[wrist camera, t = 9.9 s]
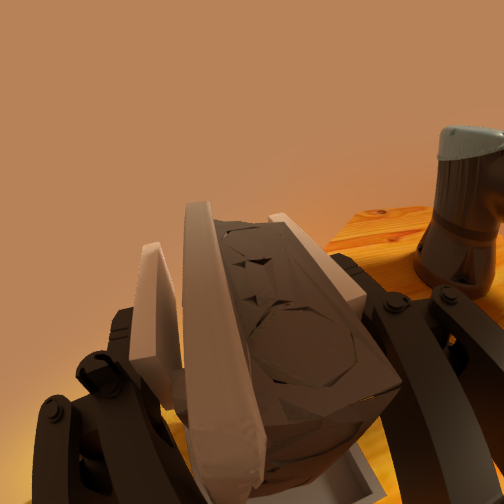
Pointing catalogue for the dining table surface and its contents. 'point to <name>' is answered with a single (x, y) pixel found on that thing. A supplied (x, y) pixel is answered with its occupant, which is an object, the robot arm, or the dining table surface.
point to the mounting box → (321, 483)
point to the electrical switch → (269, 360)
